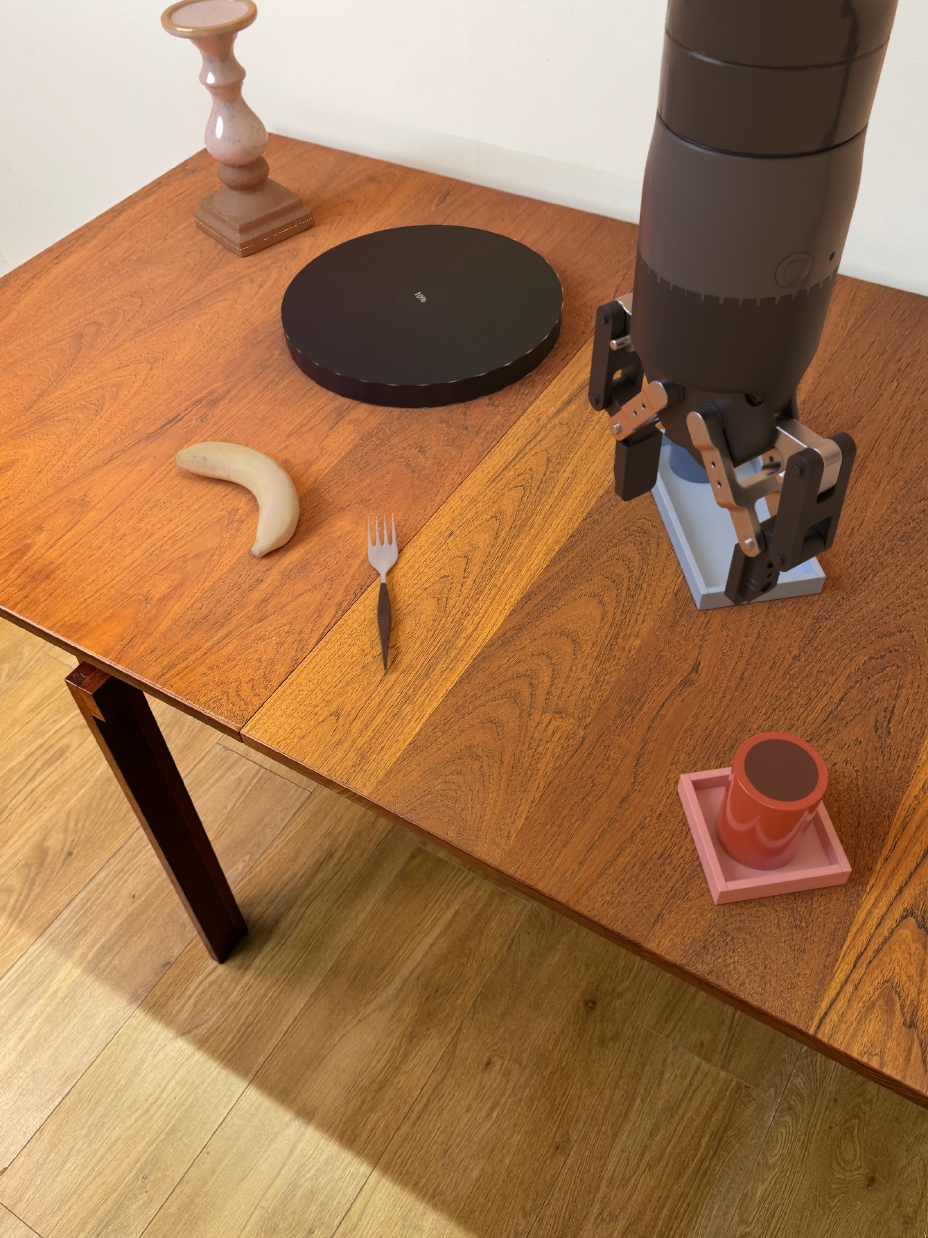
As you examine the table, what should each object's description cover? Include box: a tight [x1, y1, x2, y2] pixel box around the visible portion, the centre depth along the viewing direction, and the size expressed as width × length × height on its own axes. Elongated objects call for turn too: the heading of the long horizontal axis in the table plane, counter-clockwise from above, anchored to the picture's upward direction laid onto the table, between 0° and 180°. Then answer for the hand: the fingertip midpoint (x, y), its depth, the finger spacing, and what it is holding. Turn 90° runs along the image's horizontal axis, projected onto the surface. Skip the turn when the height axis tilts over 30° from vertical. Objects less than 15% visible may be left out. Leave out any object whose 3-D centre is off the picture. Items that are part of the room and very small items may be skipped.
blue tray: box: [650, 428, 827, 611], centre depth 86 cm, size 10×20×2 cm, turn 8°
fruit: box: [174, 440, 300, 558], centre depth 90 cm, size 7×15×3 cm, turn 38°
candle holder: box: [160, 0, 316, 258], centre depth 114 cm, size 11×11×24 cm
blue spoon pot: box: [669, 441, 710, 483], centre depth 88 cm, size 6×6×8 cm
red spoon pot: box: [715, 731, 829, 870], centre depth 64 cm, size 6×6×8 cm
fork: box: [367, 512, 399, 671], centre depth 82 cm, size 3×16×2 cm, turn 4°
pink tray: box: [676, 766, 853, 906], centre depth 67 cm, size 9×9×2 cm
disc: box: [280, 224, 564, 409], centre depth 107 cm, size 30×30×3 cm
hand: (687, 540), depth 50 cm, fingers open, 8 cm apart
